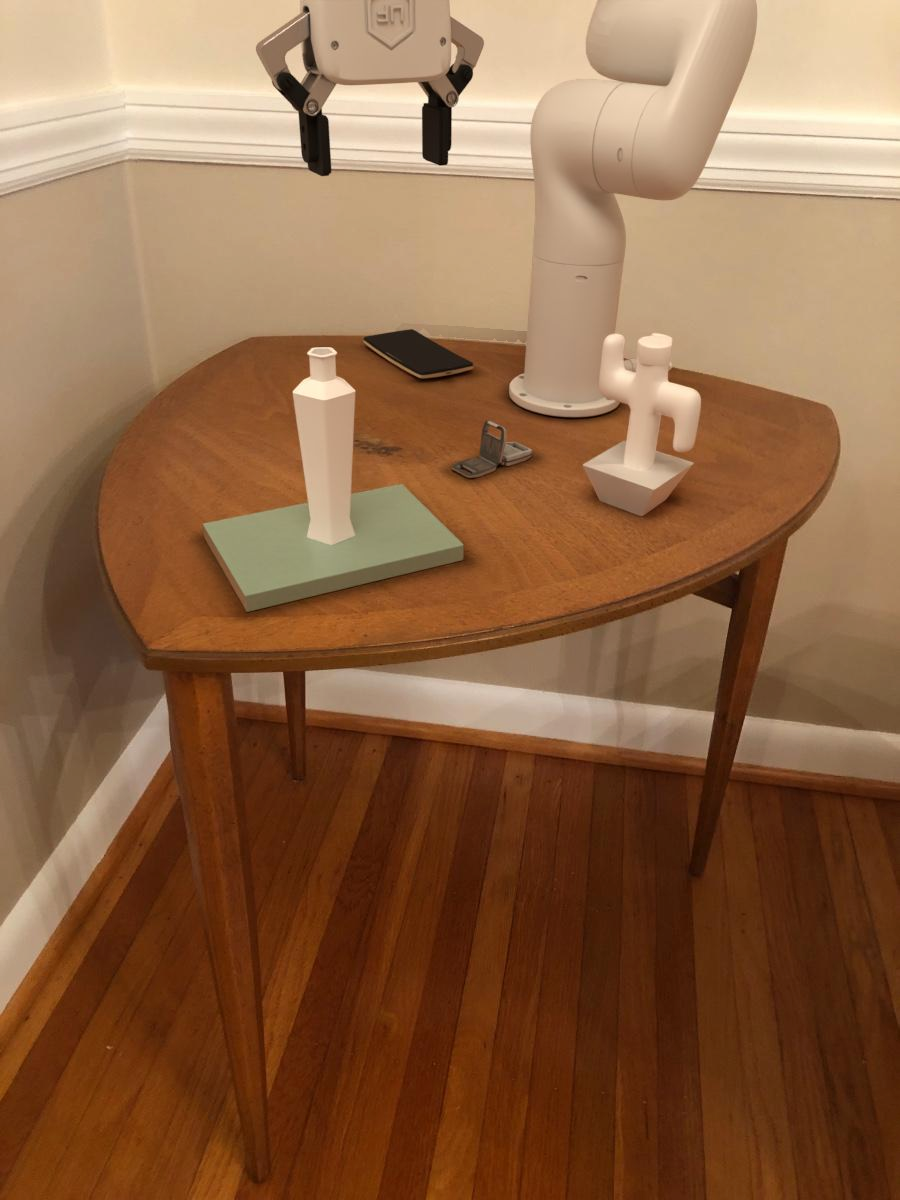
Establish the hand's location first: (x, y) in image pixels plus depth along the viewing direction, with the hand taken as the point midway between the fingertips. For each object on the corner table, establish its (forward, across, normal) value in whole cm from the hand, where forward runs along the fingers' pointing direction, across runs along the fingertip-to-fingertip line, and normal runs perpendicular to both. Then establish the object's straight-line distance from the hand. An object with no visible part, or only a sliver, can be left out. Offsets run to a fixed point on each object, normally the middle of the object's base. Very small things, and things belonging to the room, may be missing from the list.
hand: (378, 167), depth 72 cm
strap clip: (+28, +11, 0) cm, 30 cm away
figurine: (+28, +19, -12) cm, 36 cm away
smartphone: (+28, +17, +30) cm, 44 cm away
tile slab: (+27, -9, -9) cm, 30 cm away
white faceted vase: (+25, -9, -9) cm, 28 cm away
